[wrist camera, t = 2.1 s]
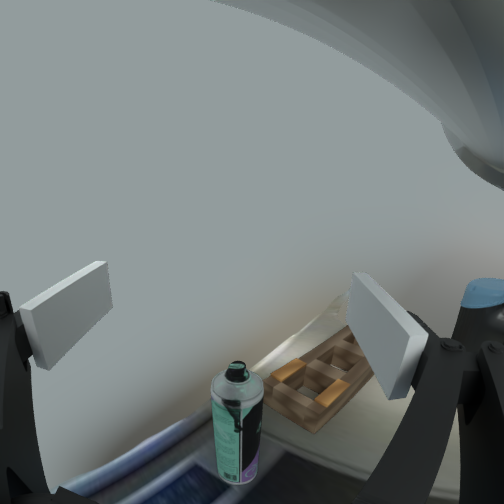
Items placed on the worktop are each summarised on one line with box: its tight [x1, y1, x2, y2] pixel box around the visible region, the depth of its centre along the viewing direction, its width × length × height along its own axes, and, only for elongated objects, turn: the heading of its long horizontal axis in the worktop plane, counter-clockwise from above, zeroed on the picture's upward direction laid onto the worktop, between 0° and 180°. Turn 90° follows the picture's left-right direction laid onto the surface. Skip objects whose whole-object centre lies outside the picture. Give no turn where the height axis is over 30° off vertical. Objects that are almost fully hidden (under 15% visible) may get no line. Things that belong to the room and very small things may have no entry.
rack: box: [262, 325, 374, 434], centre depth 53 cm, size 12×31×6 cm, turn 133°
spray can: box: [211, 361, 264, 485], centre depth 29 cm, size 6×6×20 cm
